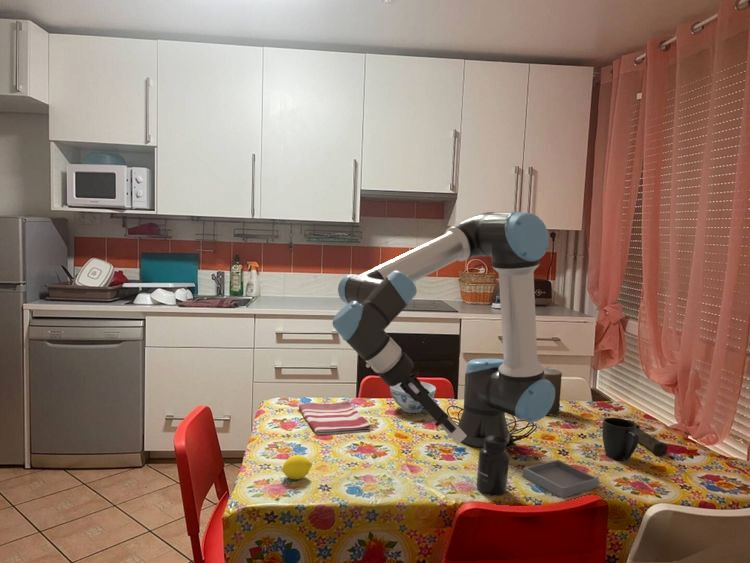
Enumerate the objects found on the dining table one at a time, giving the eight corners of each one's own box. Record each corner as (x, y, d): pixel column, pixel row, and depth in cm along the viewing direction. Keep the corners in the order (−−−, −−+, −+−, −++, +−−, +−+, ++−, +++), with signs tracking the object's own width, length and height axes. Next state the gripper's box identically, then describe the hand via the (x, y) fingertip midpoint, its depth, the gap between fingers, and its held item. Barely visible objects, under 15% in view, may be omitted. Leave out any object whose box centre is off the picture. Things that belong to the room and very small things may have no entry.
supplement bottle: (473, 492, 129) (476, 440, 128) (479, 480, 135) (482, 431, 134) (504, 499, 127) (507, 446, 126) (508, 486, 133) (512, 436, 132)
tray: (522, 476, 139) (523, 467, 139) (557, 468, 145) (557, 459, 145) (561, 497, 128) (562, 488, 128) (597, 487, 135) (598, 478, 135)
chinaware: (391, 401, 195) (392, 379, 195) (435, 405, 193) (436, 382, 193) (386, 414, 181) (387, 390, 180) (433, 419, 179) (435, 395, 178)
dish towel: (349, 407, 188) (349, 399, 187) (372, 432, 165) (372, 423, 165) (298, 410, 182) (298, 402, 182) (315, 437, 160) (315, 427, 160)
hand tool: (667, 457, 157) (669, 441, 156) (653, 457, 157) (654, 440, 156) (633, 433, 176) (634, 418, 175) (620, 432, 176) (621, 417, 175)
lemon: (284, 486, 129) (282, 463, 128) (281, 476, 134) (279, 454, 133) (315, 479, 131) (313, 457, 130) (311, 470, 136) (308, 448, 135)
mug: (618, 468, 147) (621, 432, 146) (594, 450, 159) (597, 417, 158) (648, 468, 148) (651, 432, 147) (622, 450, 160) (625, 417, 159)
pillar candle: (565, 414, 190) (568, 370, 189) (540, 416, 187) (543, 371, 186) (547, 405, 199) (550, 363, 198) (523, 407, 196) (526, 364, 195)
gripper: (367, 360, 136) (424, 421, 140) (389, 390, 111) (457, 463, 115) (390, 339, 136) (446, 400, 140) (417, 364, 112) (484, 437, 116)
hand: (452, 428), depth 128 cm, fingers open, 13 cm apart
